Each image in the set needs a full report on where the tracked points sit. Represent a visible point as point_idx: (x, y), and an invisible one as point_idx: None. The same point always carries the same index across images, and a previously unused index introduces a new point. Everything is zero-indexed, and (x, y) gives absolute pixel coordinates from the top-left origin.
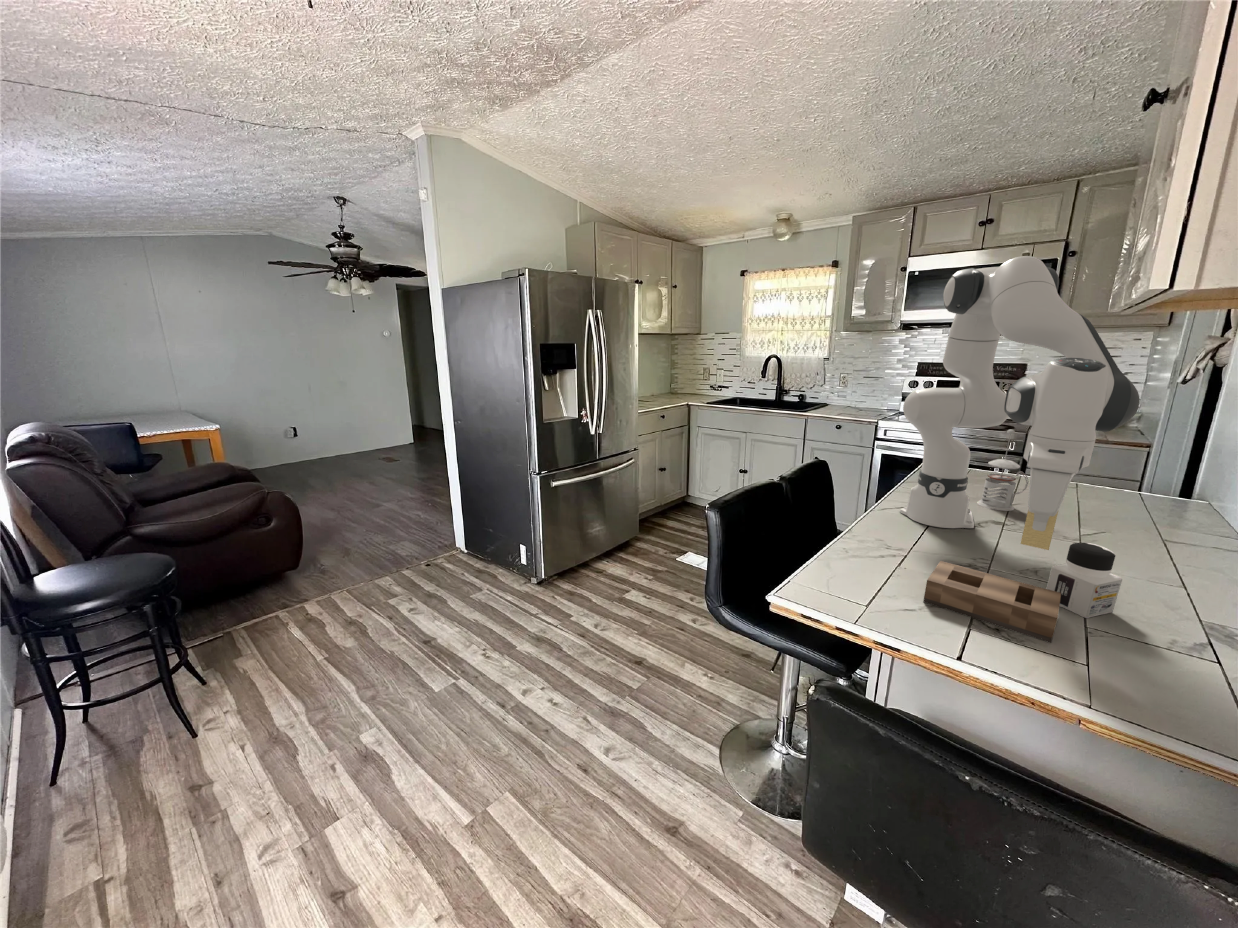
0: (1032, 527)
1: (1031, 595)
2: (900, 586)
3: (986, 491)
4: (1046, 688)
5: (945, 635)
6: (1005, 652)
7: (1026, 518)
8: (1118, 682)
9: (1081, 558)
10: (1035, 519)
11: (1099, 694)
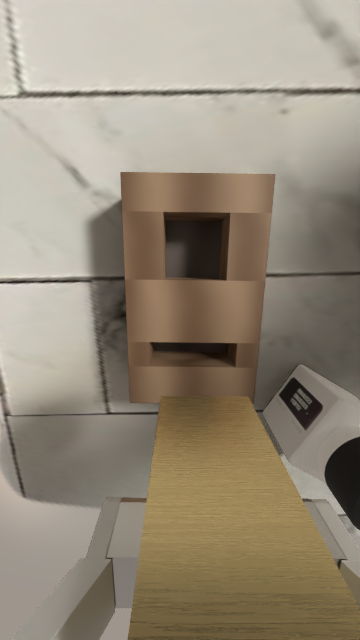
0: (104, 501)
1: (232, 359)
2: (172, 131)
3: None
4: (6, 378)
5: (35, 252)
6: (57, 332)
7: (146, 506)
8: (92, 438)
9: (344, 473)
10: (72, 575)
11: (45, 423)
